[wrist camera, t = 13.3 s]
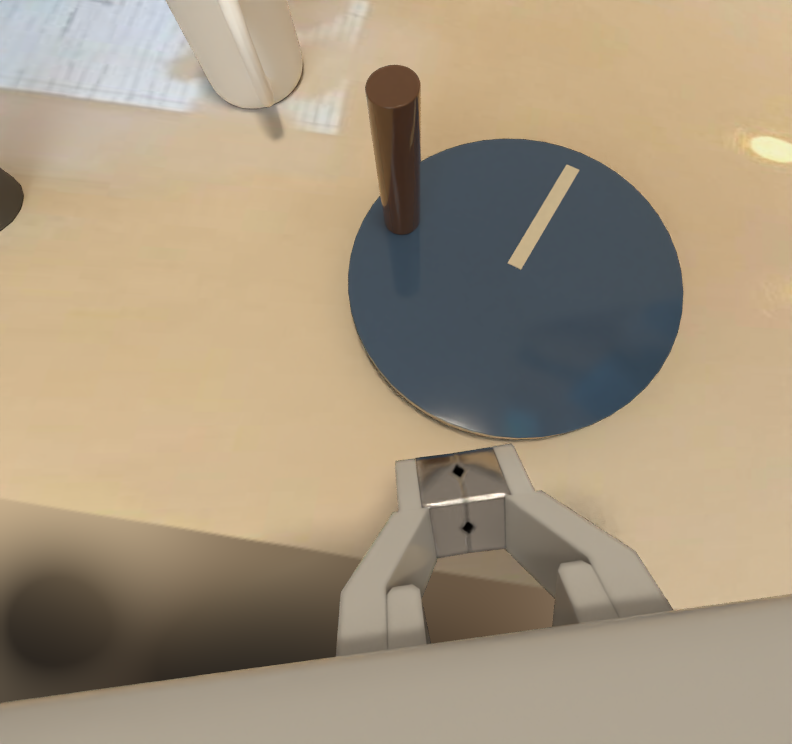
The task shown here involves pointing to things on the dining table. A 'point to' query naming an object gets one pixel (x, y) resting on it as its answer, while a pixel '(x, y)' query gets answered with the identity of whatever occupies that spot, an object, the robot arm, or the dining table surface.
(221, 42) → the cup
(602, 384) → the blue disc with peg
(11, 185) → the candle holder
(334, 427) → the dining table surface
